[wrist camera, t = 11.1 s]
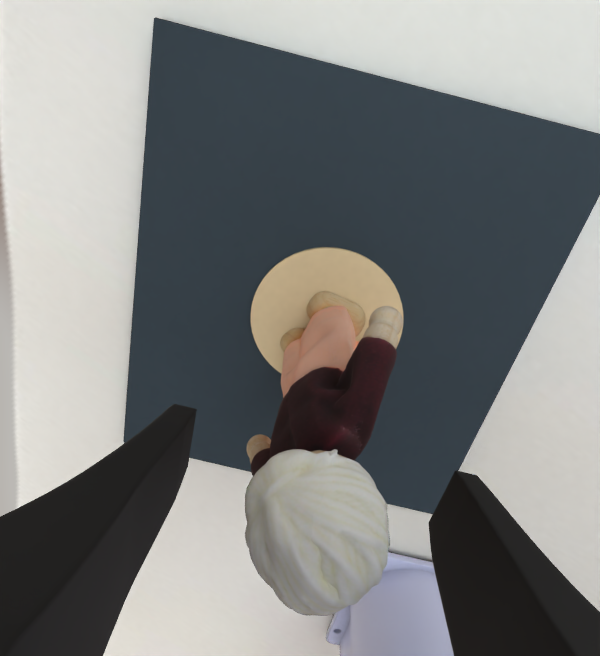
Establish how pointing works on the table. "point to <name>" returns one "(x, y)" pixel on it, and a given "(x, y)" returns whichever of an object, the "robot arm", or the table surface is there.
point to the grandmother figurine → (323, 461)
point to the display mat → (340, 244)
